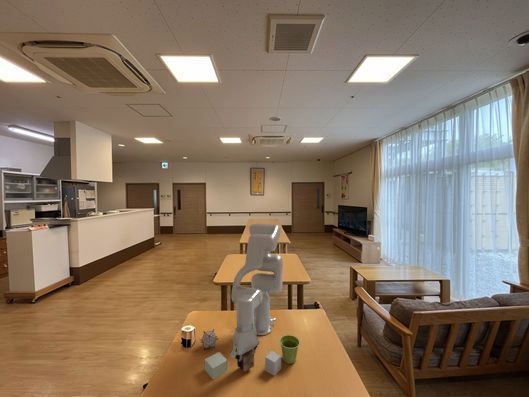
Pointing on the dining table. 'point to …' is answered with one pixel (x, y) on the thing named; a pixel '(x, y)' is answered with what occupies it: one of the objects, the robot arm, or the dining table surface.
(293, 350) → the plant pot
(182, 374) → the dining table surface
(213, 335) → the grey spiky ball
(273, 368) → the grey block
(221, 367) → the base block
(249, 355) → the walnut block
